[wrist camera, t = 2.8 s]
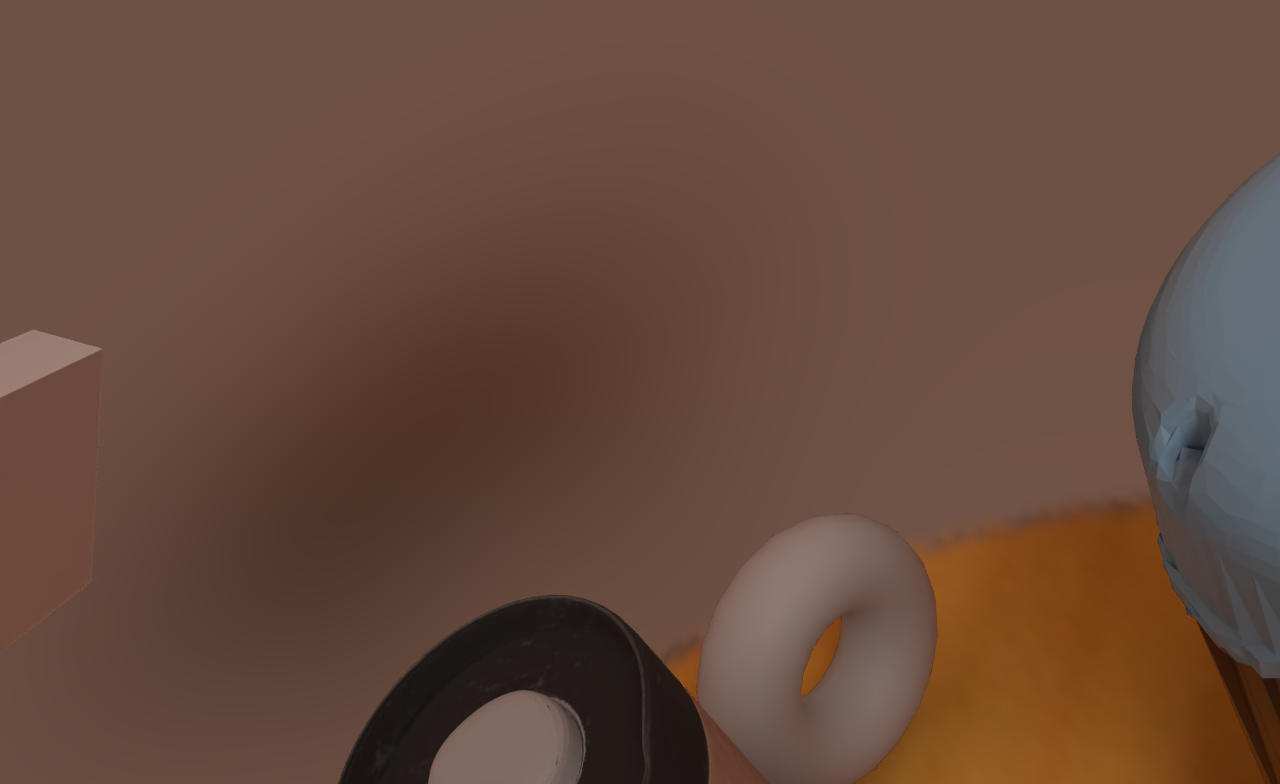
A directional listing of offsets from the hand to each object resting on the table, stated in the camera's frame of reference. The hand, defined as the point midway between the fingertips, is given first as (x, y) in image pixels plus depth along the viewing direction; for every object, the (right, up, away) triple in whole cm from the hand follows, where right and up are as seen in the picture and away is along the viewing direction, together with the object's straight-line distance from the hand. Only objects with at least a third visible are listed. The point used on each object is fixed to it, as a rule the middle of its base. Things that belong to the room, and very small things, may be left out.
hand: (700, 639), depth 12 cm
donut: (+8, -10, +31) cm, 33 cm away
